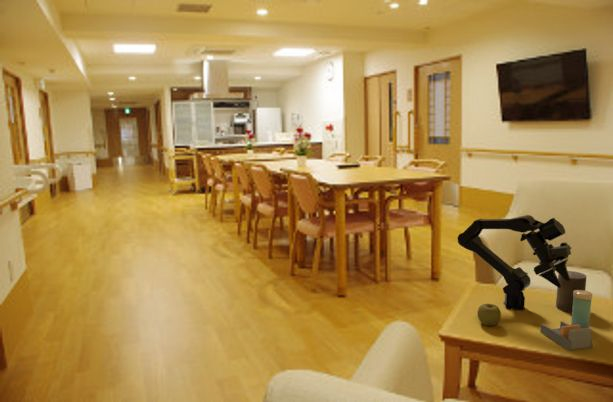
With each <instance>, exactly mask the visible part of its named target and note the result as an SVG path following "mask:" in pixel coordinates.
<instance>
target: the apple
mask: <svg viewBox="0 0 613 402" xmlns="http://www.w3.org/2000/svg"><path fill="white" fill-rule="evenodd" d="M477 317H478V320H479V322H480V323H481V324H482V325H485V326H489V327H490V326H496V325H498V323H499V322H500V320H501V317H502V313H501V310H500V308H499V306H497V305H495V304H492V303H483V304H481V305H479V307H478V309H477Z"/></svg>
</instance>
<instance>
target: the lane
mask: <svg viewBox="0 0 613 402" xmlns="http://www.w3.org/2000/svg"><path fill="white" fill-rule="evenodd" d="M559 325H560V327H559V328H551V327H549V326H547V325H546V324H544V323H540V329H539V330H540V333H541V334H543V335H544V336H545V337H547V338H549V339H551V340H552V341H554V342H555V343H557V345H558V344H559V346H561V347H562V348H564V349H565V350H567V351H569V352H570V351H577V350H584V349H585V350H586V349H592V348H593V341H594V339H593V338H592V328H590V327H589V328H588V327H587V328H579V329H571V330H569V339H566V338H565V337H563V336H562V335H561V326H568V325H569V324H568V323H566V322H565V321H563V320H562V321H560V324H559Z"/></svg>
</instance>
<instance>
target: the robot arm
mask: <svg viewBox="0 0 613 402" xmlns="http://www.w3.org/2000/svg"><path fill="white" fill-rule="evenodd" d="M483 230H510V231H513V232H519V233H522V234H521V236H520V242H523V241H526V242H527V243H528V244H529V246H530V248H531V249H532V251H533V252H532V255H533V256H536V257H537V259H538V260H539V261H540V262H538V265H535V266H534V267H533V272H534V274H535V276H537V275H538V276H539V277H542V278H543V279H545V280H547V282H549V283H551V284H552V285H554V286H555V287H558V288H559V287H561V284H560V282H559V280H558V275H557V273H558V274H560V275H561V276H562V277H563V278H564V279H565V280H567V281H569V280H570V277H569V274H568V271H569V270H568V268H567V263H568V260H569V256H571V255H572V252H571V250H572V247H571V246H570V244H568V242H566V241H564V242H561V243H560V244H559V245H558V246H554V245H553V244H552V243H548V241H550V242H551V241H553V240H555V239H557V238H559V237H561V236H564V235H565V234H566V230H565V227H564V225H563V224H562V223H561V222H560V221H559V220H556V218H555V217H552V218H550V219H548V221H546V222H542V221H539V220H537V219H535V218H534V217H533V215H530V214H525V215H521V216H516V217H513V218H512V217H511V218H478V219H475V220H474V221H473V222H472V223H471V224H470V225H469V226H468V227H467V228H466V229H465V230H464V231H463V232H461V233H459V235H458V236H457V243H458V244H459V245H460V246H461V247H463V248H464V249H466V250H468V251H471V252H474V253H475V254H476V255H477V256H478V257H480V258H481V259H482V260H484V262H486V263H487V264H488V265H490V266H491V267H492V268H493V269H494V270H496V272H497V273H499V274H500V275H501V276H502V277H503V279H504V281H505V282H506V284H507V285H505V286H503V287H502V291H503V294H504V301H503V305H504V307H505V309H506V310H519V311H520V310H521V311H524V310H525V302H526V299H525V298H526V296H525V295H524V291H525V290H526V289H527V288H529V286H530V285H531V277H530V276H529V275H528V274H529V273H528V272H526V271H524V270H523V269H522V268H521V266H518V267H515V268H514V267H512V266H510V265H509V264H508V263H507V262H506V261H505V260H503V259H502V258H501V257H500V256H498V255H497V254H496V253H494V251H492V250H491V249H489V248H488V247H487V246H486V245H485V244H484V243H483V241H482V239H481V237H480V236H479V235H481V233H482V231H483ZM537 230H538V231H537Z"/></svg>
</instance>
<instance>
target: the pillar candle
mask: <svg viewBox="0 0 613 402" xmlns="http://www.w3.org/2000/svg"><path fill="white" fill-rule="evenodd" d="M567 271H568V274H569V277H570V280H569V281H567V280H565V279H564V278H563V277H562V276H561V275H560V274H559V273H558V275H557V278H558V280H559V282H560V284H561V287H559V288H558V287H557V286H556V287H557V288H556V297H555V298H556V299H555V307H556V308H557V309H558V310H561V311H563V312H567V313H572V310H573V297H574V296H573V291H575V290H585V291H586V287H587V275H586V274H584V273H582V272H580V271H575V270H574V271H573V270H567Z"/></svg>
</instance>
